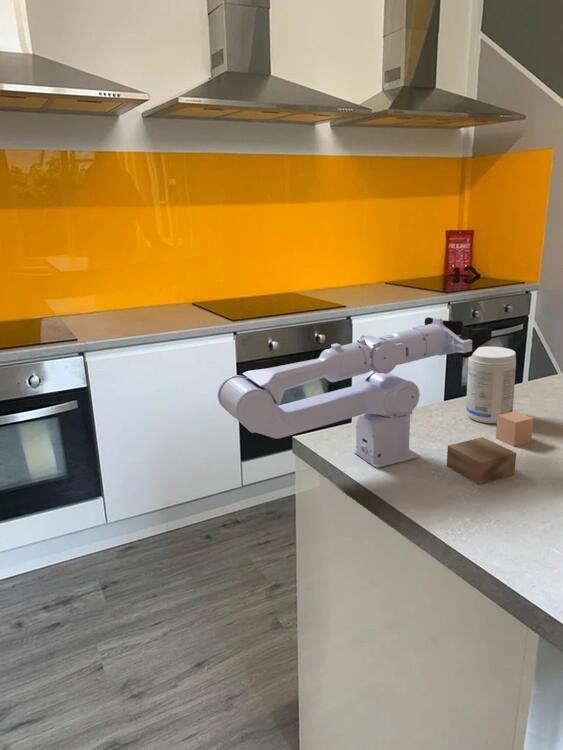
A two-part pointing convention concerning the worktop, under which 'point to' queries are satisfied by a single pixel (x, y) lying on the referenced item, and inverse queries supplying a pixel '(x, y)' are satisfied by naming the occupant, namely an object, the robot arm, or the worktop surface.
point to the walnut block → (481, 460)
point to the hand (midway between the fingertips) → (475, 329)
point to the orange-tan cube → (514, 428)
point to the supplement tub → (490, 383)
